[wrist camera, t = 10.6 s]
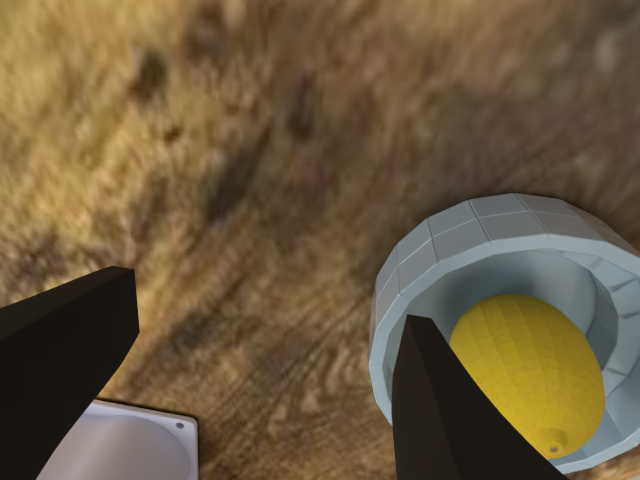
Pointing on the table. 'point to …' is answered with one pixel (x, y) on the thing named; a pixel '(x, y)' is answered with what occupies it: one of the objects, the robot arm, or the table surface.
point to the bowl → (521, 278)
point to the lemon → (533, 370)
